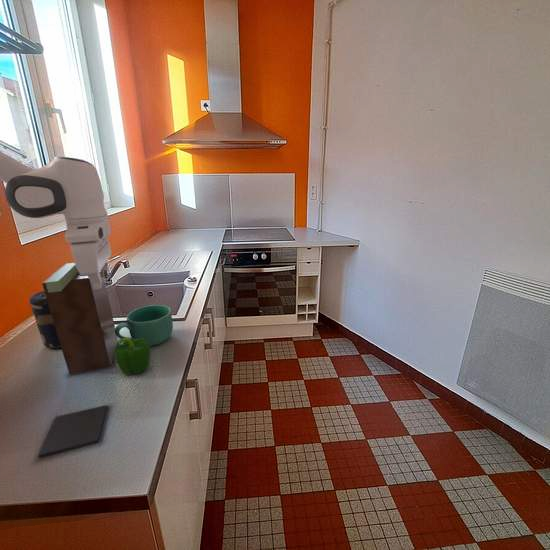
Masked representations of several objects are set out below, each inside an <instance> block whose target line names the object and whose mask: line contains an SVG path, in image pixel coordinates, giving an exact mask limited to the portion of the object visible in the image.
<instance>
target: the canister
mask: <svg viewBox="0 0 550 550" xmlns="http://www.w3.org/2000/svg"><path fill="white" fill-rule="evenodd" d="M29 304H30V307H31V310H32V313H33V315H34V319H35V322H36V326H37V329H38V332H39V334H40V337H41V341H42V344H43V346H44V347H46V348H49V349H57V348H61V345H60V342H59V338H58V335H57V332H56V328H55V325H54V322H53V318H52V315H51V312H50V308H49V305H48V302H47V298H46V295H45V292H44V290H41V291H38V292H36V293H34V294H32V295H31V296H30V297H29Z"/></svg>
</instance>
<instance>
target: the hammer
mask: <svg viewBox="0 0 550 550" xmlns="http://www.w3.org/2000/svg"><path fill="white" fill-rule="evenodd" d="M61 267H62V268H61ZM61 267H60V268H61V269H60V270H59V271H58V272H57V273H56V274H55V275H54V276H52V277H51V278H50V279H49V280H48V281H47V282H46V286H47V289H48V293H50V292H58V291H62V290H63V288H64V287H65V286H66V285H67V284H68V283H69V282H70V281H71V280H72V279H73V278H74V277H75V275H76V274H77V273H79V272H78V270H77V267H76V264H75V262H69V263H65V264H64V265H63V266H61Z"/></svg>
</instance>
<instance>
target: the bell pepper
mask: <svg viewBox="0 0 550 550" xmlns="http://www.w3.org/2000/svg"><path fill="white" fill-rule="evenodd" d="M128 338H129V337H128ZM128 338H122V339H120V338H119V339H118V343H120V344H117V346H116V348H115V353H114V359H115V362H116V364H117V366H118V368H119V369H120V370H121V372H122V373H124V374H125V375H132V374H136V375H137V374H141V373H143V372H145V371H146V370H147V369H148V367H149V365H150V358H151V346H149V344H148V343H147V342H146V341H145V340H144V339H143V338H142V337H140V338H137V339H128Z"/></svg>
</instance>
